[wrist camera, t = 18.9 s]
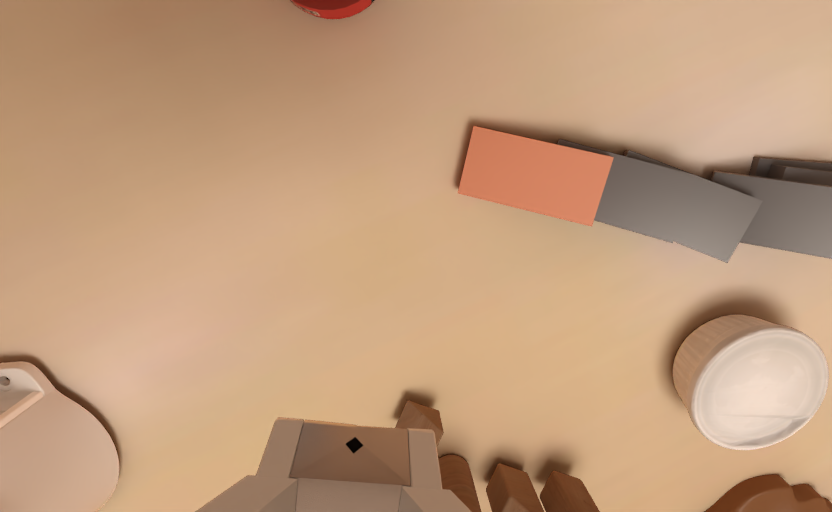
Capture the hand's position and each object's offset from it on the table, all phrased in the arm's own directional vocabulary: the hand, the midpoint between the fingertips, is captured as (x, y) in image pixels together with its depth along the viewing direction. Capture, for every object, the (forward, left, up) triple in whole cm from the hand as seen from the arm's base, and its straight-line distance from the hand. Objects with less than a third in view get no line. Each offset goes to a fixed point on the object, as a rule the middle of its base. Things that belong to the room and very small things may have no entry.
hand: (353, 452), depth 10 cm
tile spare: (+6, +3, -30) cm, 31 cm away
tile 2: (+18, +3, -30) cm, 35 cm away
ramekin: (+32, -12, -31) cm, 46 cm away
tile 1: (+13, +3, -30) cm, 33 cm away
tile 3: (+26, +2, -30) cm, 40 cm away
